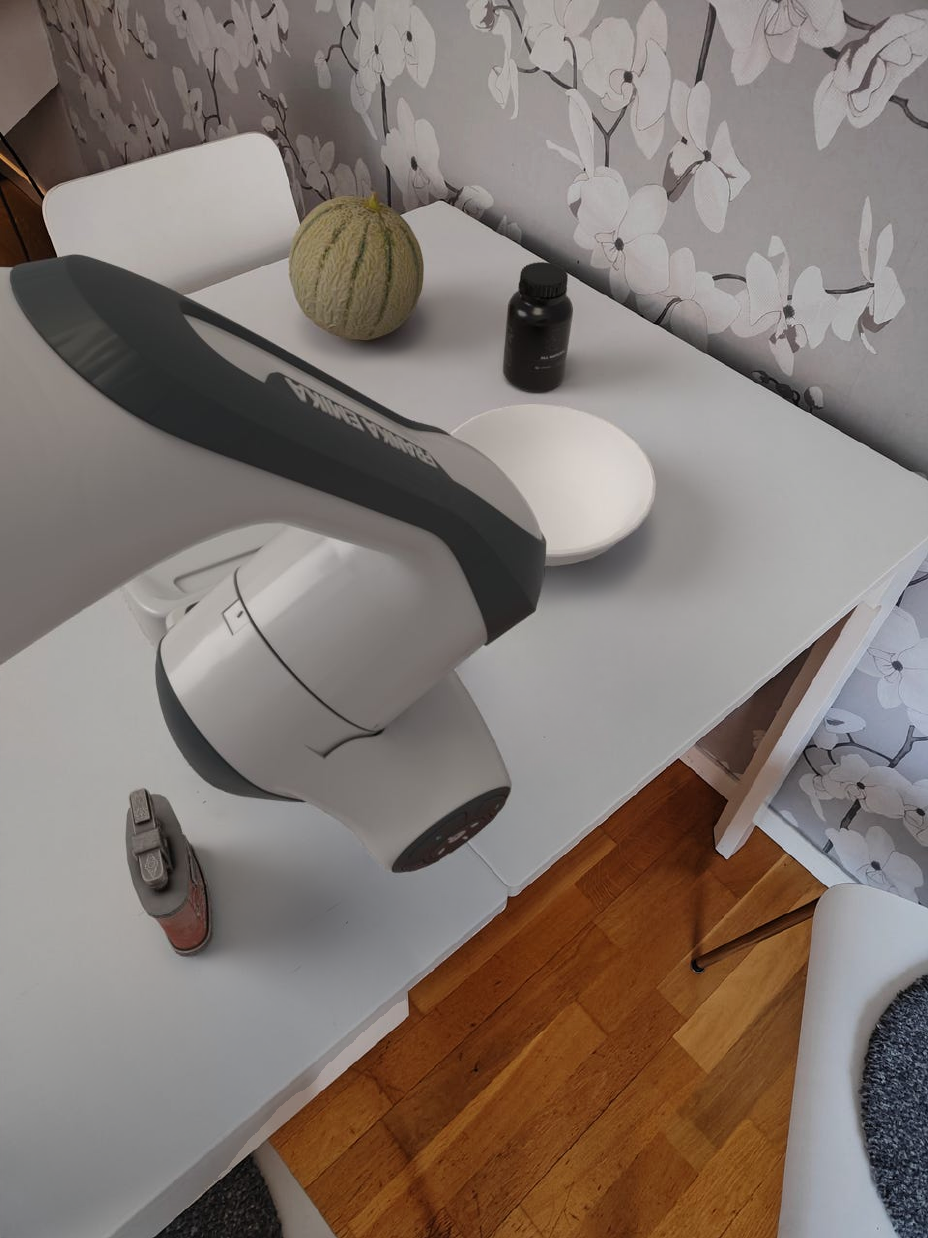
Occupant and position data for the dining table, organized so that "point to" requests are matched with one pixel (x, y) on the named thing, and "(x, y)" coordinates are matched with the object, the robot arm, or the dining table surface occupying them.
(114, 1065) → the dining table surface
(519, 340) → the supplement bottle
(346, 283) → the cantaloupe
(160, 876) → the lighter
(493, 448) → the bowl
